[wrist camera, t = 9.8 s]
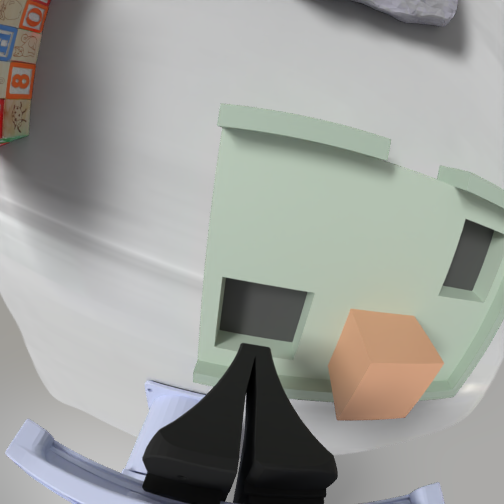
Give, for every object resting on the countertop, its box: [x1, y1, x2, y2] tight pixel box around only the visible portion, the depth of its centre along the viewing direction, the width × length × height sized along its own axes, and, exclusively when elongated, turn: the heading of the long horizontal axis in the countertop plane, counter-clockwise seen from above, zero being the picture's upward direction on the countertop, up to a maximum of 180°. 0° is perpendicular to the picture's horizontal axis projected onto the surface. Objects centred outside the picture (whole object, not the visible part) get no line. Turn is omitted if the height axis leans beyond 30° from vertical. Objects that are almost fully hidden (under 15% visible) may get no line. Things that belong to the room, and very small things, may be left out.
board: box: [193, 104, 504, 402], centre depth 15 cm, size 16×21×3 cm
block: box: [328, 309, 444, 420], centre depth 13 cm, size 4×4×4 cm
